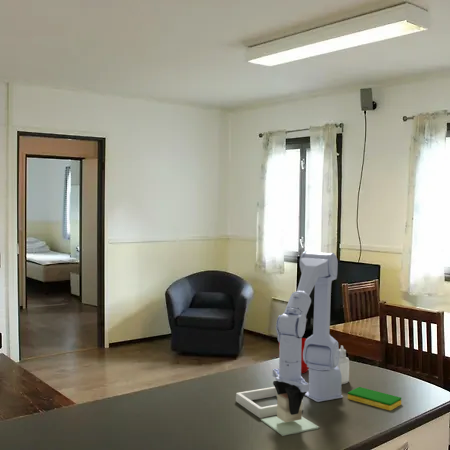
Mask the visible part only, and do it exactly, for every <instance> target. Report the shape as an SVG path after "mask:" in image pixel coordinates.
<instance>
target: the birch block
mask: <svg viewBox="0 0 450 450" xmlns="http://www.w3.org/2000/svg"><path fill="white" fill-rule="evenodd" d="M276 400H277V402H276V404H277V415H276V416H277V417H278V418H279V419H281V420H282V421H284V422H290V421H295V420H300V419H301V418H302V417H303V415H302V411H303V410H302V402H301V405H300V409H299V413H298V414H294V415H291V414H290V409H289V399H288V395H287V393H284V394H279V395H277V396H276Z"/></svg>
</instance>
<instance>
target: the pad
mask: <svg viewBox="0 0 450 450" xmlns="http://www.w3.org/2000/svg"><path fill="white" fill-rule="evenodd" d="M260 421H261V422H263V423H264V424H265V425H267V426H269V428H271V429H272V430H274V431H275V432H277V433H278V434H280V435H281V436H282V437H283V436H288V435H294V434H299V433H304V432H307V431H313V430H318V429H319V428H320V426H318V425H317V424H315V423H314V422H312V421H311V420H309V419H307V418H305V417H303V416H302V418H301V419H300V420H295V421H290V422H284V421H282V420H281V419H279V418H278V417H277V415H274V416H268V417H263V418H260Z"/></svg>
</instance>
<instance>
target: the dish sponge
mask: <svg viewBox="0 0 450 450" xmlns="http://www.w3.org/2000/svg"><path fill="white" fill-rule="evenodd" d="M347 399H348V400H351V401H354V402H356V403H357V402H358V403H360V404H365V405H369V406H373V407H375V408H378V409H383V410H387V411H393V410H394V409H397V408H398V407H400V406H402V397H400V396H396V395H393V394H388V393H384V392H380V391H377V390H374V389H369V388H365V387H361V386H358V387H356V388H354V389H352V390H350V391H348V392H347Z"/></svg>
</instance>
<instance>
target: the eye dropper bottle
mask: <svg viewBox="0 0 450 450" xmlns="http://www.w3.org/2000/svg"><path fill="white" fill-rule="evenodd" d="M337 367H338V368H339V369H340V372H341V376H342V383H341V385H346V384H348V383H349V381H350V359H349V357H347V350H346V349H345V348H344V345H340V348H339V363H338V365H337Z"/></svg>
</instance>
